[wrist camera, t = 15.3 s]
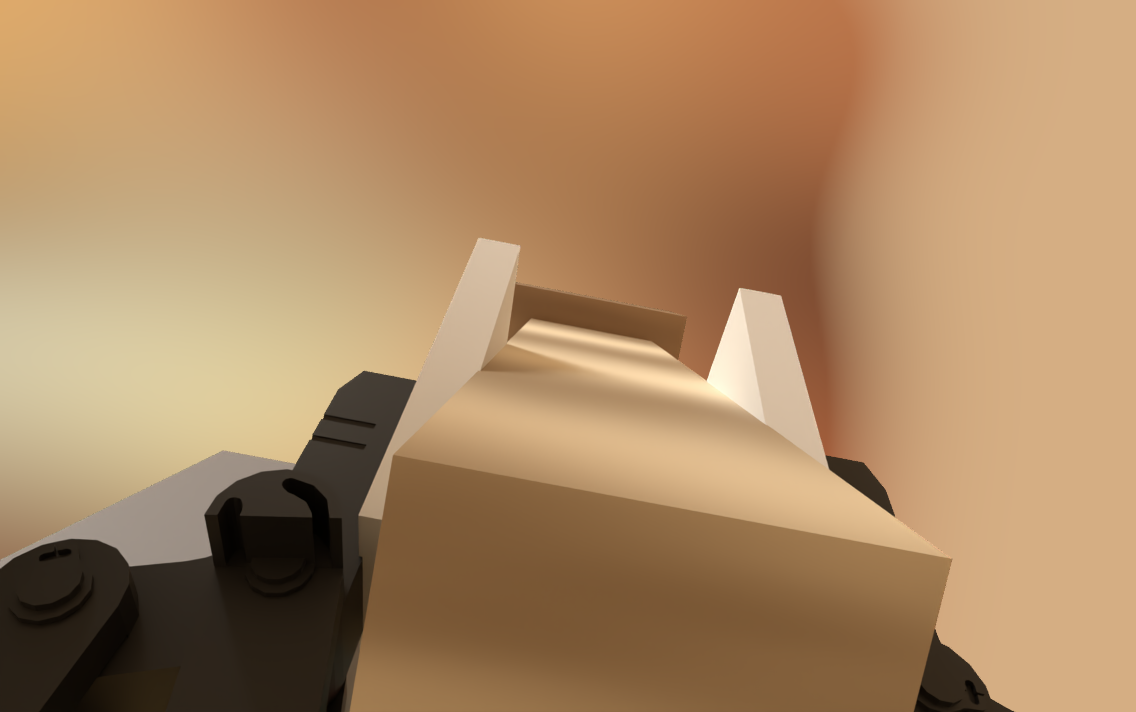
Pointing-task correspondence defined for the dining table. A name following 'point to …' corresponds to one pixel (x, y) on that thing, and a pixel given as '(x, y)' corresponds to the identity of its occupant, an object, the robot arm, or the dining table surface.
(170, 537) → the stand
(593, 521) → the wooden bar
